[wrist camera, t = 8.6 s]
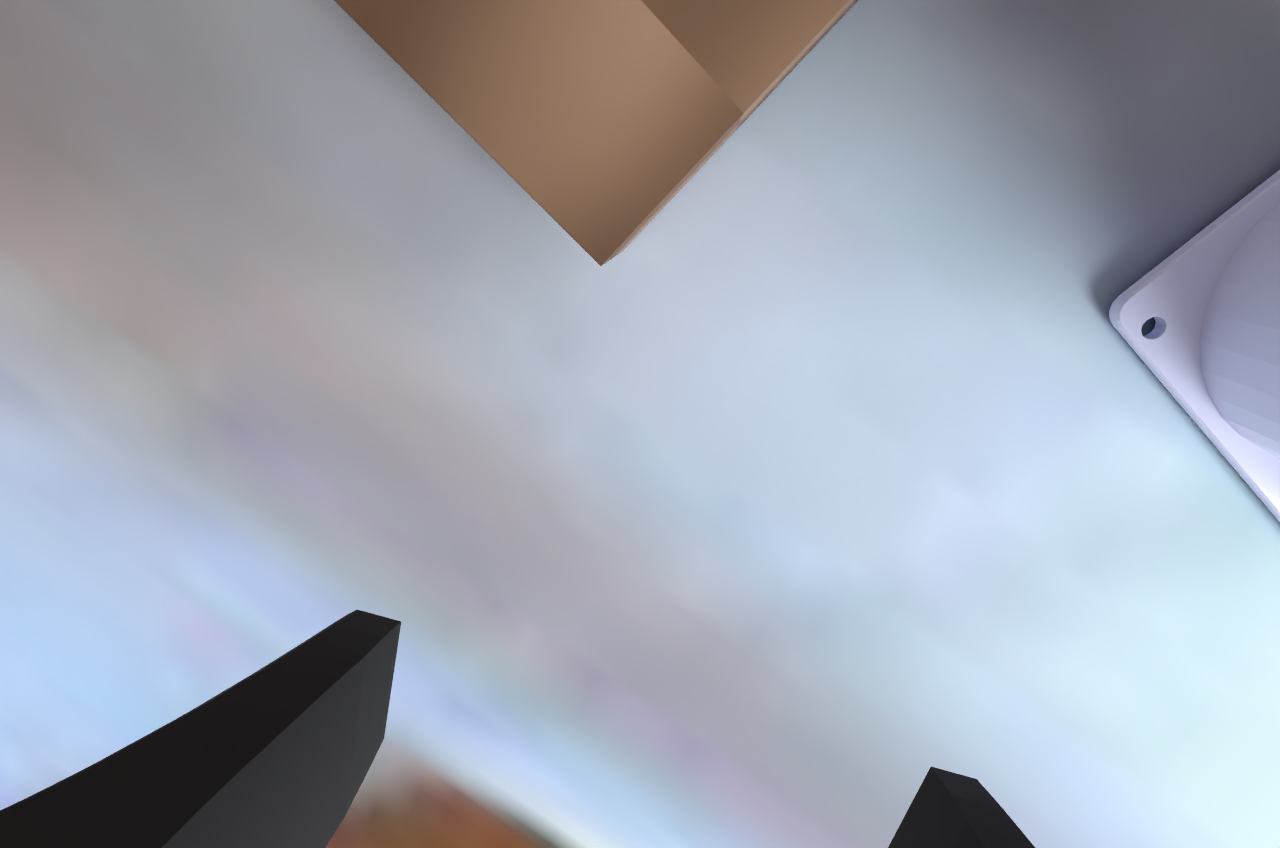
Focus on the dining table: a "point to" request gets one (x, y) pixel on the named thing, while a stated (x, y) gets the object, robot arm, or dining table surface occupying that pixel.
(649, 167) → the socket block
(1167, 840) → the dining table surface
